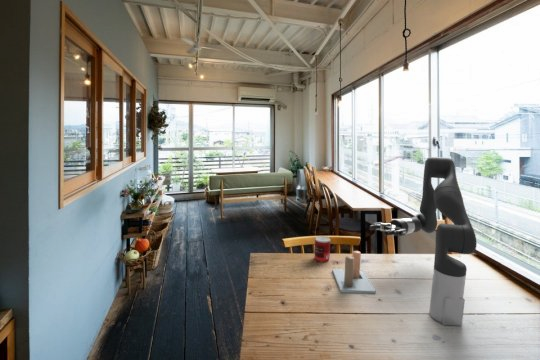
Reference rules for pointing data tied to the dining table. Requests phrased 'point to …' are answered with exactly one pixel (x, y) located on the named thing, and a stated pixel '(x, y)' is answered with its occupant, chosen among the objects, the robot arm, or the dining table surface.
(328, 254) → the canned food
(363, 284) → the board
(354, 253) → the wooden peg
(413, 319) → the dining table surface
